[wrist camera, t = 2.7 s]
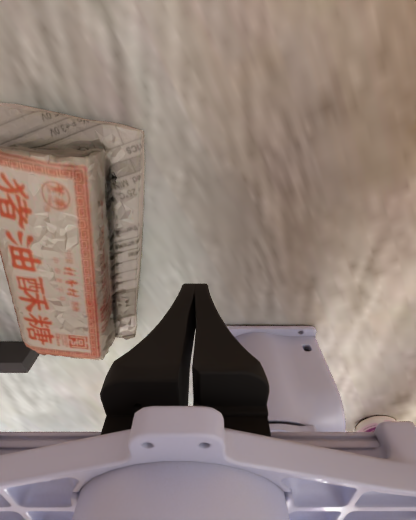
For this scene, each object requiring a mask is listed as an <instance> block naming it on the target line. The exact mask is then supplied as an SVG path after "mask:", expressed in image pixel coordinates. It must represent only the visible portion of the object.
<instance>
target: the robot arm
mask: <svg viewBox="0 0 416 520" xmlns="http://www.w3.org/2000/svg"><path fill="white" fill-rule="evenodd" d="M195 328H196V334H195ZM194 334H195V346H194V356H193V365H192V373H193V396H194V401H193V406H188V393H189V372H190V361H191V354H192V348H193V341H194ZM315 335H316V329H315V327H313V326H226V325H225V323H224V322H223V320H222V319H221V317H220V315H219V313H218V311H217V310H216V307H215V305H214V303H213V301H212V298H211V296H210V293H209V289H208V285H207V284H183V285H182V288H181V290H180V292H179V294H178V296H177V298H176V300H175V301H174V303H173V305H172V306H171V308H170V309H169V311H168V312H167V313H166V315H165V316H164V318H163V319H162V320H161V321H160V323H159V324H158V325H157V326H156V327H155V328H154V329H153V330H152V331H151V332H150V333H149V334H148V335H147V336H146V337H145V338H144V339H143V340H142V341H141V342H140V343H139V344H137V345H136V346H135V347H134V348H133V349H131V350H130V351H129V352H127V353H126V354H124V355H123V356H121V357H120V358H118V359H117V360H115V361H114V362H113V364H112V366H111V368H110V370H109V372H108V374H107V376H106V378H105V381H104V384H103V387H102V390H101V393H100V397H101V401H102V404H103V407H104V410H105V412H106V415H107V416H106V419H105V422H104V426H103V429H102V432H0V520H416V427H415V425H414V424H413V422H410V421H386V422H382V423H379V424H378V425H377V427H376V429H375V431H374V432H345V430H346V423H345V415H344V409H343V404H342V400H341V397H340V394H339V391H338V389H337V386H336V384H335V381H334V379H333V377H332V375H331V372H330V370H329V368H328V365H327V363H326V361H325V358H324V356H323V354H322V352H321V349H320V347H319V345H318V342H317V340H316V338H315Z"/></svg>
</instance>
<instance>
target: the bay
mask: <svg viewBox="0 0 416 520" xmlns="http://www.w3.org/2000/svg"><path fill="white" fill-rule="evenodd" d="M38 356H39V353H37V352H36V351H35V350H32V349H30V348H28V347H26V345H25V343H24V342H0V373H28V371H29V370H30V368H31V367H32V365H33V364H34V362H35V361H36V359H37V357H38Z"/></svg>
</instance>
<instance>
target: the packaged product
mask: <svg viewBox="0 0 416 520" xmlns="http://www.w3.org/2000/svg"><path fill="white" fill-rule="evenodd" d="M144 176H145V148H144V131H142V130H139V129H136V128H132V127H129V126H126V125H123V124H119V123H112V122H104V121H96V120H88V119H83V118H79V117H75V116H70V115H66V114H62V113H58V112H53V111H48V110H43V109H38V108H33V107H29V106H24V105H19V104H10V103H0V254H1V258H2V262H3V266H4V270H5V273H6V277H7V281H8V285H9V289H10V292H11V296H12V301H13V304H14V309H15V312H16V315H17V321H18V325H19V328H20V332H21V336H22V340H23V342H24V343H25V345H26V347H28V348H30V349H32V350H35V351H36V352H37V353H39V354H42V355H46V354H50V355H54V356H65V357H71V358H79V359H93V360H100V359H101V360H103V358H104V356H105V355H106V354H107V353H108V349H109V347H110V346H111V345H112V343H113V341H114V339H115V337H120V338H124V339H126V340H127V339H130V338H133V337H135V334H136V328H137V310H136V307H137V298H138V289H139V279H140V267H141V255H142V235H143V206H144Z"/></svg>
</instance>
